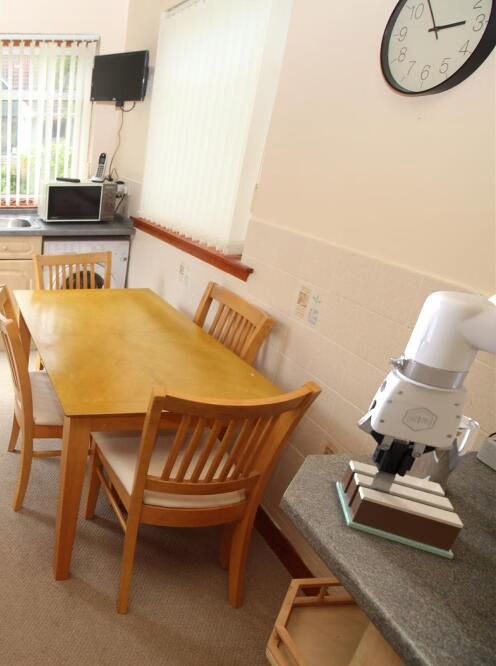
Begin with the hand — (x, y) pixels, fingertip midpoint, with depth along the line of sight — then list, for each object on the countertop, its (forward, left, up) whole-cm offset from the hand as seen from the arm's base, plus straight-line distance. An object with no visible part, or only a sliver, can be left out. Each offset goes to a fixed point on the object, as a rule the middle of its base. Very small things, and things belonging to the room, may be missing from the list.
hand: (388, 468), depth 80 cm
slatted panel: (-4, -2, -11) cm, 12 cm away
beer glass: (-13, -18, -11) cm, 24 cm away
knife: (0, 0, -8) cm, 8 cm away
